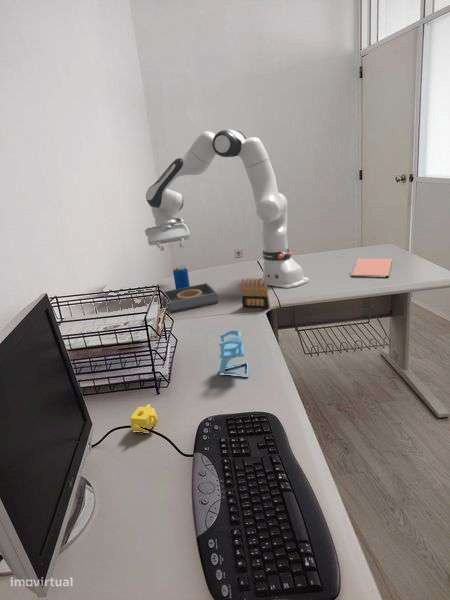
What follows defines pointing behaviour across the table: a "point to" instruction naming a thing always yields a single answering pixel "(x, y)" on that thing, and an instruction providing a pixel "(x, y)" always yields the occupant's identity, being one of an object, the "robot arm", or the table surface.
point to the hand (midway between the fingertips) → (172, 248)
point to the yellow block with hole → (143, 418)
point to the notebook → (371, 267)
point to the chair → (231, 351)
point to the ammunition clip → (255, 295)
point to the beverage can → (181, 277)
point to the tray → (190, 297)
